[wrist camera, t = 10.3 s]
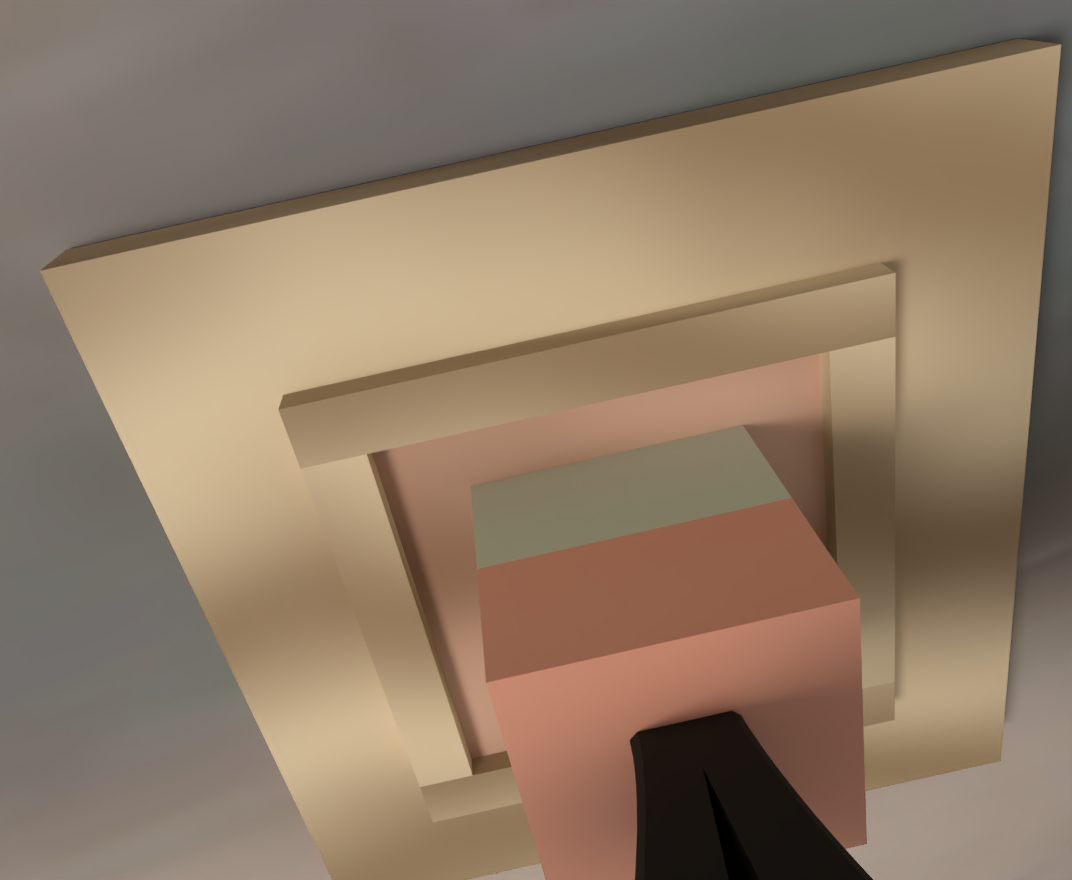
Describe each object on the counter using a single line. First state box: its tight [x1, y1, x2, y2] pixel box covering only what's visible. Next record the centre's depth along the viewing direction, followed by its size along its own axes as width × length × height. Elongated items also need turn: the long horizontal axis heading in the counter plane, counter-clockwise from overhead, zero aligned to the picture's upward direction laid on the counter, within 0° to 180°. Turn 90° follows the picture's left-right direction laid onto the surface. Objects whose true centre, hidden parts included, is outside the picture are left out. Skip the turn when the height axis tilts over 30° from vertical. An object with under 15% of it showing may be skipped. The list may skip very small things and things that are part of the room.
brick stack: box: [470, 425, 867, 880], centre depth 13 cm, size 4×4×4 cm
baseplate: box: [40, 39, 1061, 880], centre depth 16 cm, size 14×14×2 cm
